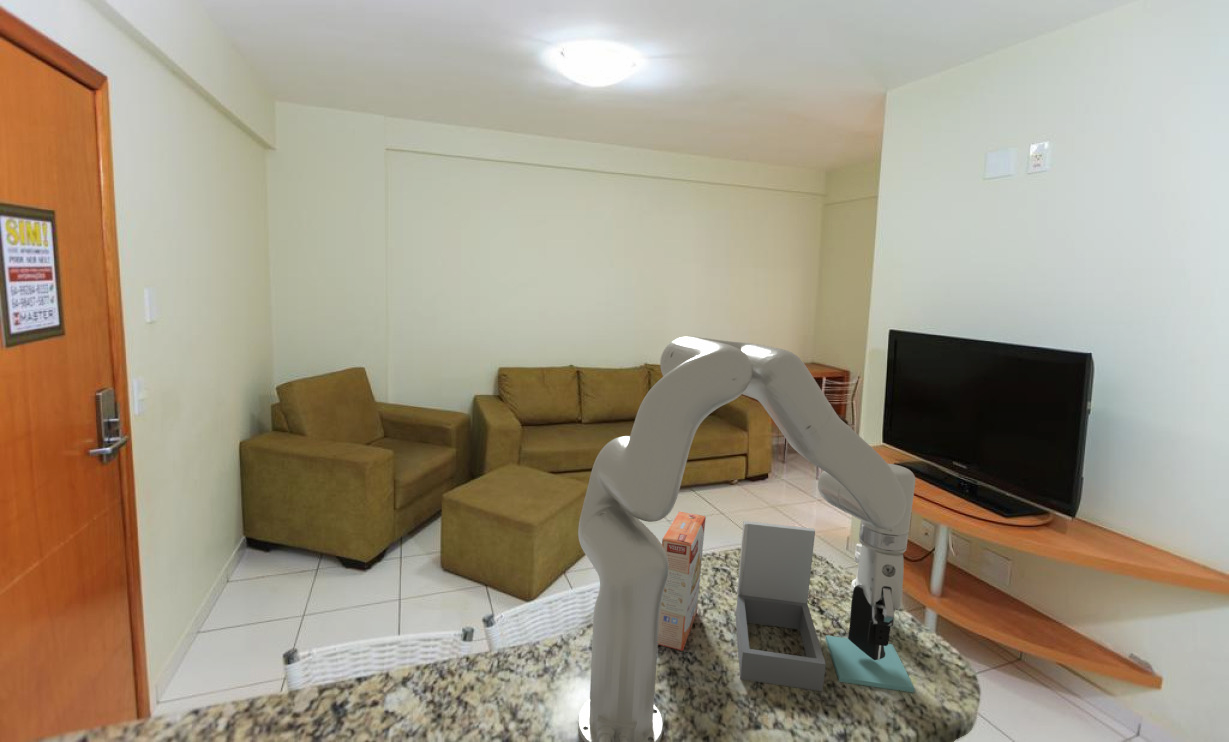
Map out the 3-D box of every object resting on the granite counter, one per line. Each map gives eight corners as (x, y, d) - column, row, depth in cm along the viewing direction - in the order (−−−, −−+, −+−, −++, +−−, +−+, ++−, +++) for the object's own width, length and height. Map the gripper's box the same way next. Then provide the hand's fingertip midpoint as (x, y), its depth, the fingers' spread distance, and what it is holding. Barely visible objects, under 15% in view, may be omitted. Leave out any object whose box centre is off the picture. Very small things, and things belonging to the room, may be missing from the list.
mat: (914, 692, 96) (914, 688, 96) (839, 681, 98) (839, 677, 98) (892, 648, 108) (892, 644, 108) (825, 639, 110) (825, 635, 110)
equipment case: (822, 691, 95) (835, 579, 92) (740, 679, 97) (750, 569, 94) (803, 623, 114) (814, 528, 111) (735, 614, 117) (743, 520, 113)
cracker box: (685, 653, 104) (693, 544, 100) (653, 645, 105) (659, 537, 102) (699, 612, 117) (707, 514, 113) (670, 605, 119) (677, 509, 115)
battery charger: (892, 659, 100) (900, 598, 98) (875, 663, 99) (883, 601, 97) (862, 635, 106) (869, 578, 105) (845, 639, 105) (852, 580, 103)
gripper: (924, 562, 90) (910, 665, 93) (890, 518, 107) (879, 606, 110) (874, 556, 91) (861, 658, 94) (848, 513, 108) (838, 600, 111)
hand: (871, 629), depth 102 cm, fingers closed on battery charger, 7 cm apart
